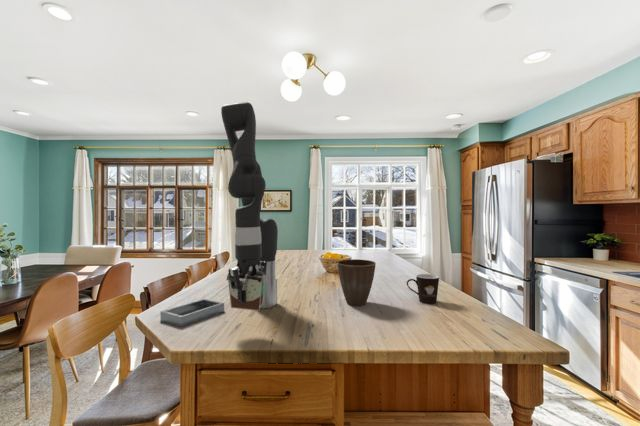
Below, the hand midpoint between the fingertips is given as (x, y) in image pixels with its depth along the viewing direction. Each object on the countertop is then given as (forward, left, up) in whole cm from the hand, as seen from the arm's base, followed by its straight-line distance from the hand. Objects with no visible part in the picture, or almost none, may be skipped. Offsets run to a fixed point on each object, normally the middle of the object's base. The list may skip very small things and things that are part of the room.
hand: (249, 299), depth 87 cm
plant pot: (-42, +16, -10) cm, 46 cm away
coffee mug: (-58, +38, -10) cm, 70 cm away
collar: (-1, -27, -10) cm, 29 cm away
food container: (-1, 0, -2) cm, 2 cm away
